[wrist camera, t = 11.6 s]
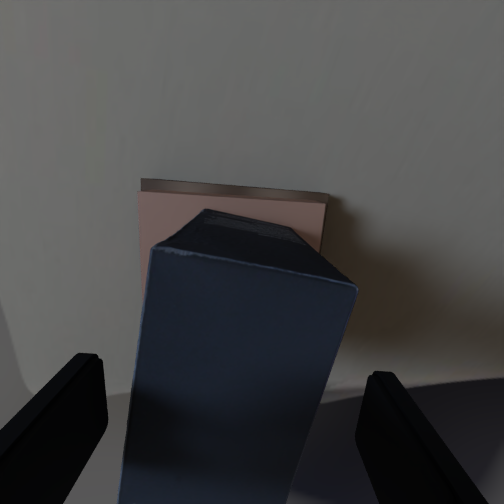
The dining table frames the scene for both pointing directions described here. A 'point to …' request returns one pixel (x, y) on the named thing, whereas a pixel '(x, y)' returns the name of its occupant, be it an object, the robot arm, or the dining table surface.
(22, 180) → the dining table surface
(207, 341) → the small box
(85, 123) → the dining table surface
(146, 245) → the terracotta slab
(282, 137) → the dining table surface
